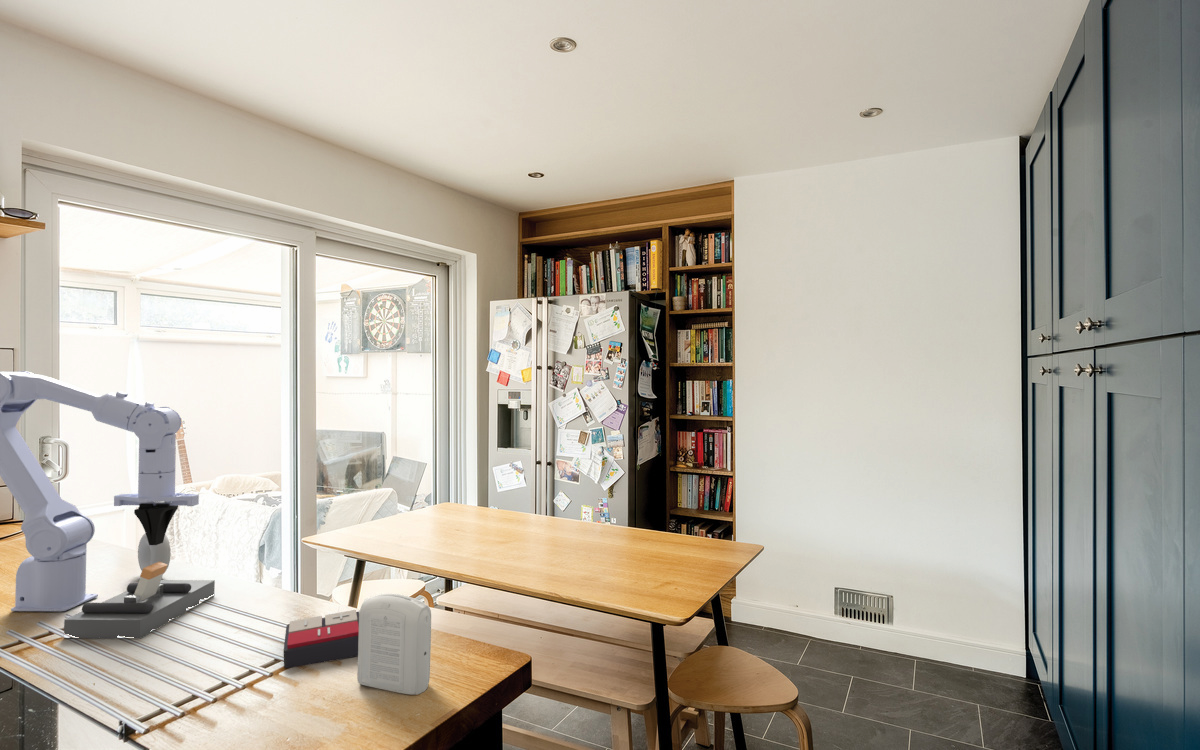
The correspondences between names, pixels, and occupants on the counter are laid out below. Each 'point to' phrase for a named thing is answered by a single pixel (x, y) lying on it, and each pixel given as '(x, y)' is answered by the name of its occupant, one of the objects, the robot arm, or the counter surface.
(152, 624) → the box
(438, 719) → the counter surface
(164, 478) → the robot arm
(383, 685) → the photo printer
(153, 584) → the lever
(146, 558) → the donut
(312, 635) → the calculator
